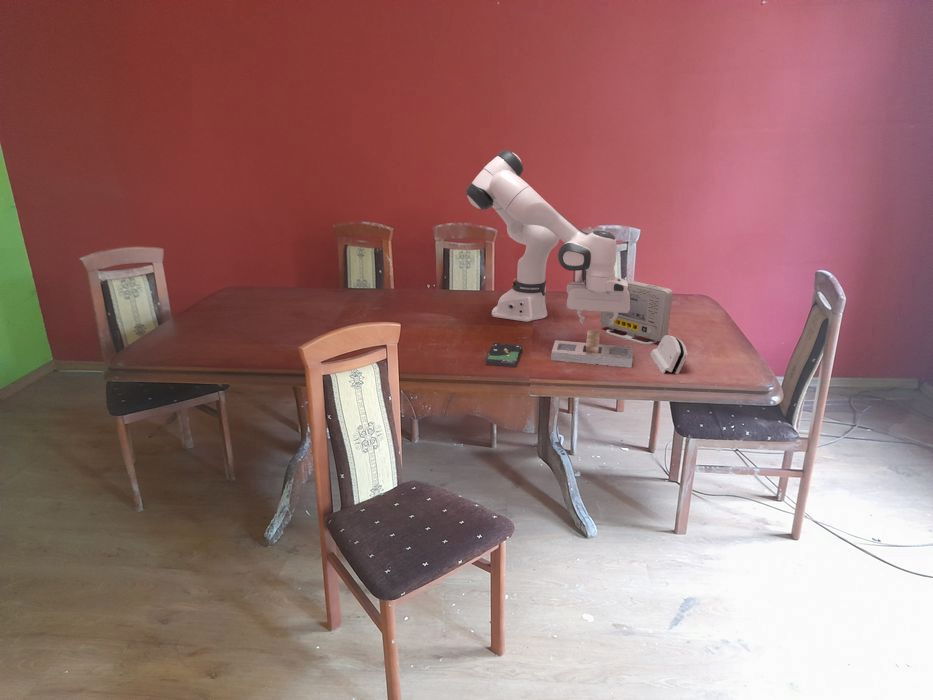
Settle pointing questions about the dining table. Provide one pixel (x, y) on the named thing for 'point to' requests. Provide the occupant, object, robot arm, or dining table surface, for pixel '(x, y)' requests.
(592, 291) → the robot arm
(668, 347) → the white rounded block
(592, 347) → the maple block
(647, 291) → the network device
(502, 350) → the disk drive
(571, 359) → the grey flat frame
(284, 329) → the dining table surface
